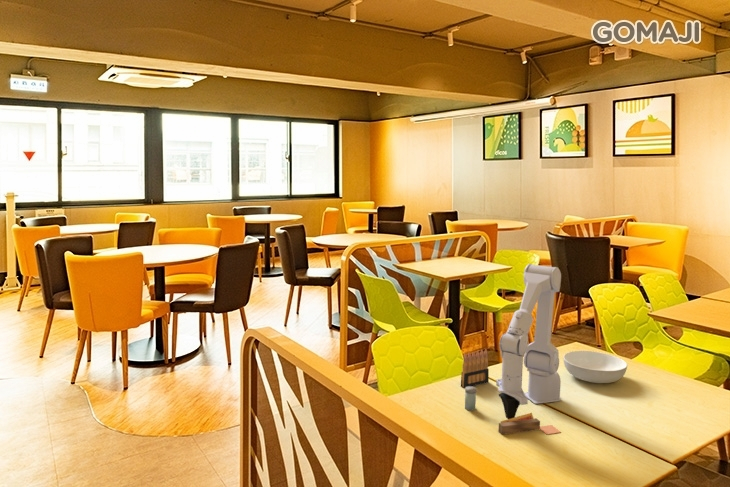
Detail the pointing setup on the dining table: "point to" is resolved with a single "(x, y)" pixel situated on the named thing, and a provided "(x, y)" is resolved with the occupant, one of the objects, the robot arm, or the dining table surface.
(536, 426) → the bar
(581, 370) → the serving bowl
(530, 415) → the chocolate bar
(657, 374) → the dining table surface
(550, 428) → the terracotta pad
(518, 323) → the robot arm
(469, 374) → the ammunition clip
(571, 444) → the dining table surface
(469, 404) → the grey-green cylindrical peg
